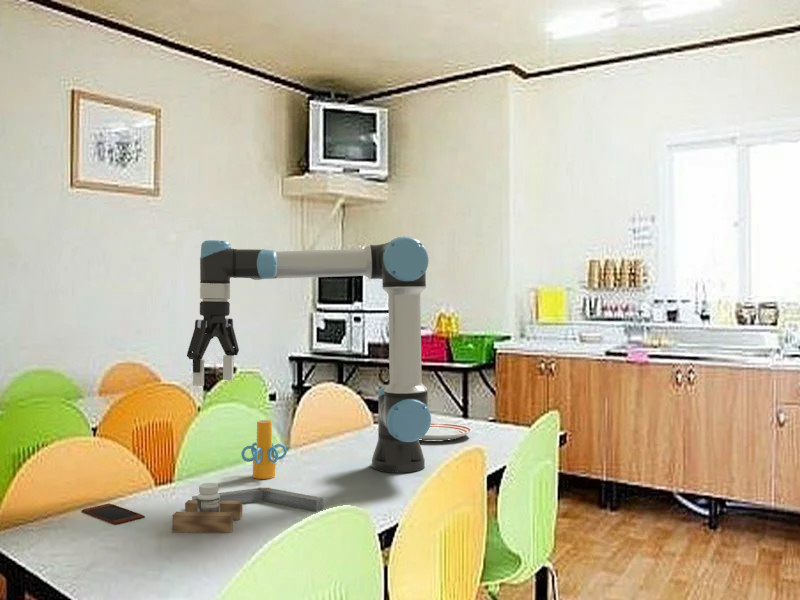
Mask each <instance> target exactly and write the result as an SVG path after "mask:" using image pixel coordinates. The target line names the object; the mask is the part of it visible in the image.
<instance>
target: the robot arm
mask: <svg viewBox="0 0 800 600" xmlns="http://www.w3.org/2000/svg"><path fill="white" fill-rule="evenodd" d="M200 247H201V248H200V257H199V262H200V263H199V266H200V268H199V269H200V270H199V277H200V279H199V283H200V288H199V293H200V295H199V298H200V300H202V301H200V302H199V315H200V316H203V319H196V320H194V321H195V322H194V329H193V332H192V335H191V340H190V343H189V346H188V350H187V352H186V353H187V354H186V357H187V358H188V359H189V360H192V385H193V386H195V387H197V386H198V387H204V386H205V359H203V357H204V355H205V353H206V351H207V348H208V347H209V344H210V342H211V340H212V339H214V338H217V339H218V341H219V343H220V345H221V348H222V350H223V352H224V355H223V357H222V380H223V381H234V362H235V361H234V358H235V356H237V355H238V354H239V351H240V348H239V345H238V341H237V336H236V333H235V329H234V321H233V318H226V317H228V316H229V315H230V309H231V308H230V306H231V305H230V301H228V300H230V299H231V285H230V284H231V279H240V278H241V279H252V280H254V281H260V280H273V279H297V278H298V279H299V278H300V279H301V278H303V279H304V278H328V277H330V278H333V277H334V278H335V277H359V276H361V277H364V276H366V278H368V279H369V280H382V281H381V282H382V289H383V290H384V291H385V292H386V293H387V297H388V298H387V299H388V339H389V340H388V349H389V350H388V351H389V354H388V355H389V356H388V357H389V383H388V385H386V387H385V386H383V387H381V388H380V389H379V390H378V396H377V400H378V419H377V420H378V425H377V426H378V427H377V428H378V429H377V430H378V431H377V432H378V436H377V437H378V438H377V441H376V442H377V443H376V445H375V449H374V451H373V455H372V457H371V468H373V469H374V470H376V471H380V472H384V473H385V472H386V473H397V474H398V473H401V474H402V473H412V472H418V471H421V470H423V469H424V468H425V457H424V453H423V450H422V446H421V444H420V441H419V439H421V438H422V437H423V436H424V435H425V434H426V433H427V432H428V430H429V428H430V425H431V423H432V414H431V411H430V409H429V403H428V399H429V398H428V396H429V395H428V388H427V387H426V385H424V384H423V382H422V381H423V380H422V378H423V377H422V373H423V372H422V322H421V321H422V320H421V319H422V318H421V317H422V316H421V314H422V313H421V294H422V293H423V291H424V290H425V289H426V288H427V287H426V286H427V284H426V283H427V281H426V280H427V274H426V273H427V269H428V267H429V262H430V261H429V254H428V251H427V248H426V247H425V245H423V243H422V242H421V241H419V240H418V239H416V238H414V237H410V236H400V237H396V238H393V239H392V240H391V241H389V242H386V243H381V244H371V245H370V244H369V245H367V246H366V247H365V248H356V249H355V248H354V249H352V248H351V249H350V248H349V249H348V248H347V249H321V250H291V251H290V250H287V251H286V250H285V251H284V250H283V251H282V250H281V251H276V250H273V249H272V250H271V249H265V248H264V249H256V248H255V249H249V248H248V249H244V248H243V249H238V248H232V245H231V242H230V241H228V240H212V239H211V240H209V239H207V240H204V241H203V242H202V243H201V246H200Z"/></svg>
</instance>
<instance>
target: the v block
mask: <svg viewBox="0 0 800 600" xmlns="http://www.w3.org/2000/svg"><path fill="white" fill-rule="evenodd" d="M218 493H219V494H220V500H227V501H242V505H243V504H248V503H256V502H266V503H272V504H276V505H282V506H287V507H293V508H297V509H302V510H307V511H313V512H318V511H320V510H323V509H324V508H323V507H324V498H323V497H321V496H315V495H309V494H305V493H304V494H303V493H298V492H294V491H293V492H292V491H287V490H282V489H276V488H271V487H257V488H256V487H255V488H249V489H248V488H247V489H239V490H233V491H231V490H230V491H226V492H225V491H224V492H218ZM197 497H198V495H193V496H191V500H197Z"/></svg>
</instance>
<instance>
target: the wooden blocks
mask: <svg viewBox="0 0 800 600" xmlns="http://www.w3.org/2000/svg"><path fill="white" fill-rule="evenodd" d="M171 517H172V520H171V522H172V526H171V527H172V528H171V529H172V533H203V534H205V533H209V534H210V533H211V534H212V533H213V534H215V533H216V534H222V533H223V534H230V533H231V532H232V531H233V529H234V521H240V520H241V519H242V518H243V504H242V501H227V500H220V512H197V500H192V499H188V500H187V501H186V502H185V503H184V511H175V512H174V513H173V514H172V515H171Z"/></svg>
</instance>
